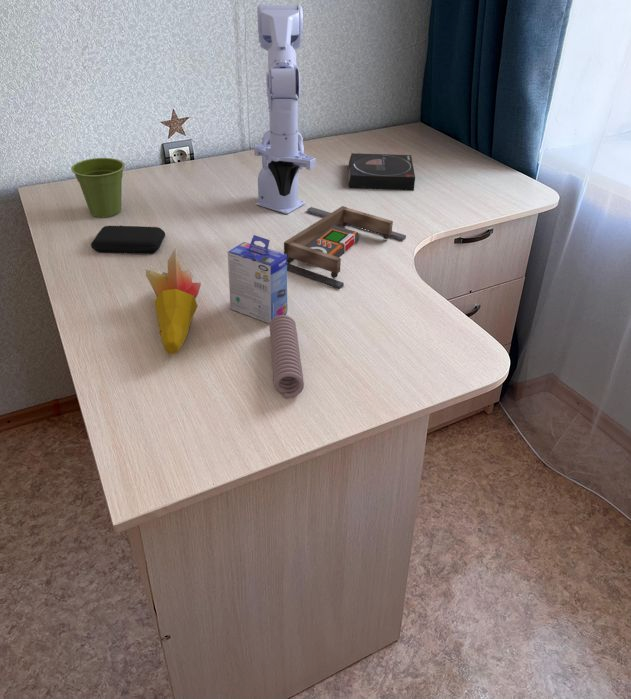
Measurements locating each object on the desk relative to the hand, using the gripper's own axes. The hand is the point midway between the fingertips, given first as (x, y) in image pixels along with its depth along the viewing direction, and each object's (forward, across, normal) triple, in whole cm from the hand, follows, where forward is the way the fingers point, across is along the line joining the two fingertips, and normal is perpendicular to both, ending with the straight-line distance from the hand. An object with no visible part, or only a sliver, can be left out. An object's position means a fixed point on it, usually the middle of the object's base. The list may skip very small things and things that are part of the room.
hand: (284, 194), depth 143 cm
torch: (+11, +4, -39) cm, 41 cm away
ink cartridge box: (+11, +14, -27) cm, 32 cm away
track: (+10, +9, +2) cm, 14 cm away
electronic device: (+11, +11, +1) cm, 16 cm away
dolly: (+10, +13, +2) cm, 17 cm away
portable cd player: (+11, -1, +44) cm, 45 cm away
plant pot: (+11, -43, -14) cm, 46 cm away
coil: (+11, +28, -37) cm, 48 cm away
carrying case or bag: (+11, -26, -22) cm, 36 cm away
